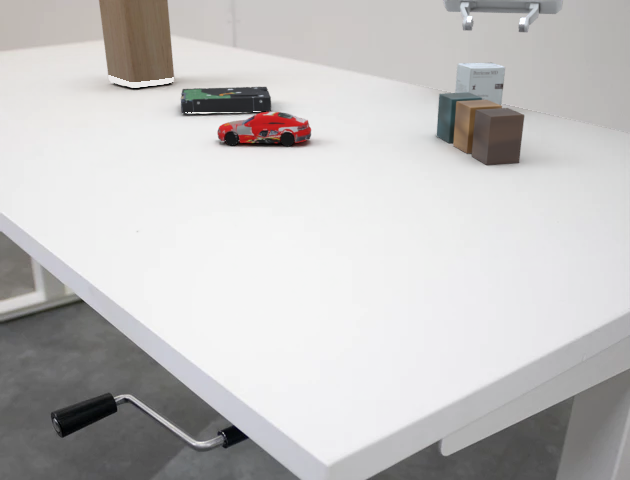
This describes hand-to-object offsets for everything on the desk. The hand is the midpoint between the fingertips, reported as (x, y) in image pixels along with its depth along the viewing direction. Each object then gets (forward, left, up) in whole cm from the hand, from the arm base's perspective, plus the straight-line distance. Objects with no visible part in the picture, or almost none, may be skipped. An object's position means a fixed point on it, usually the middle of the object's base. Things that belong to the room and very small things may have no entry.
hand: (494, 29), depth 128 cm
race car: (+13, +46, -12) cm, 49 cm away
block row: (-13, +33, -12) cm, 37 cm away
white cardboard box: (-2, +9, -12) cm, 15 cm away
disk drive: (+34, +31, -12) cm, 47 cm away
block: (+65, +22, -12) cm, 70 cm away
